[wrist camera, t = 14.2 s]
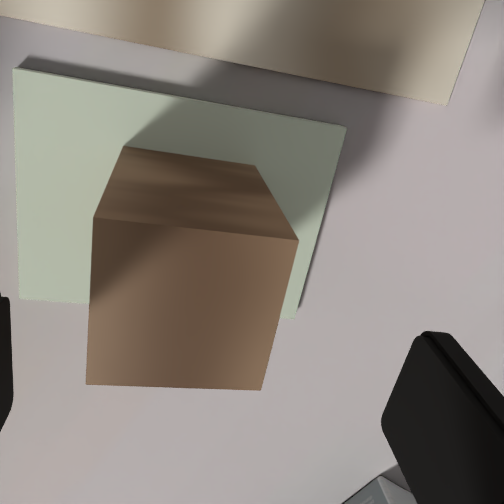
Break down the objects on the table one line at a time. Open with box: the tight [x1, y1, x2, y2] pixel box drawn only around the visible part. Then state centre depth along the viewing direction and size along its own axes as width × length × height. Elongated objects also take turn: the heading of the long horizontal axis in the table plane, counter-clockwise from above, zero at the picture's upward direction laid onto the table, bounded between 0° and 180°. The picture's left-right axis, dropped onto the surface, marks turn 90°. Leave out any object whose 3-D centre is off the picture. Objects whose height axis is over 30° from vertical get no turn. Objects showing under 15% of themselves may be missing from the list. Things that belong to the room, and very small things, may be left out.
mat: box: [12, 67, 347, 319], centre depth 18 cm, size 12×9×1 cm
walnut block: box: [86, 146, 299, 390], centre depth 15 cm, size 5×5×7 cm
